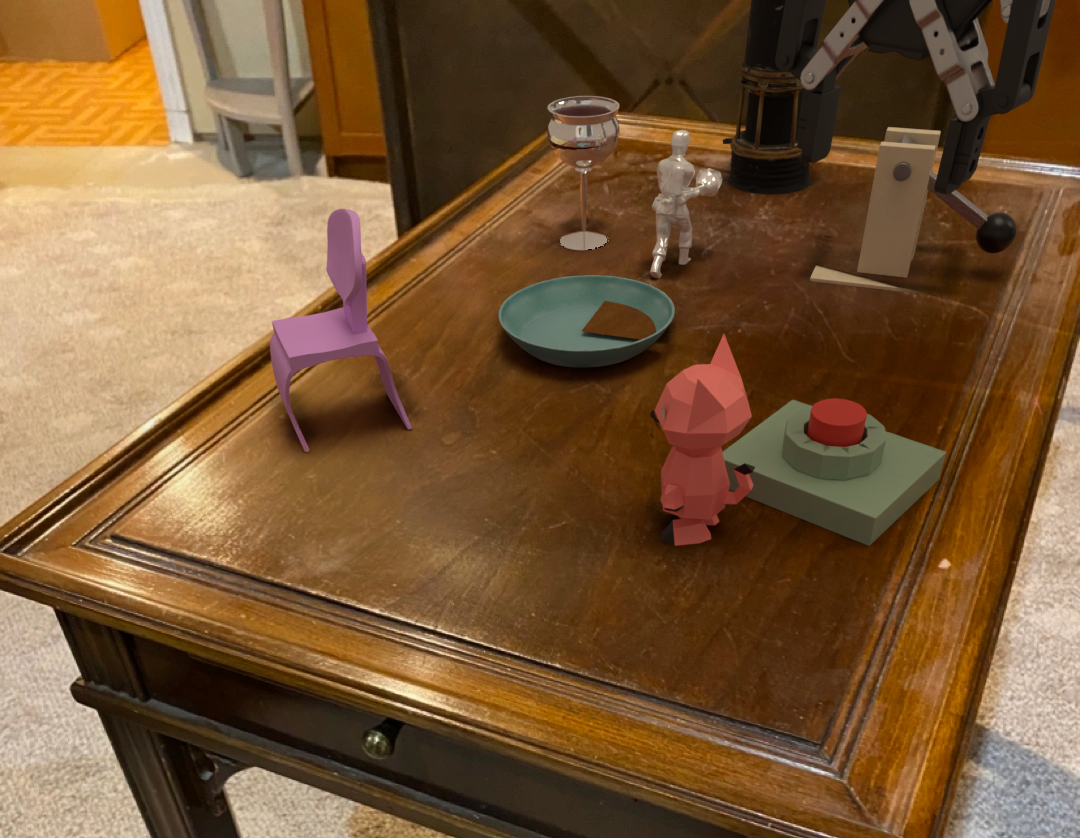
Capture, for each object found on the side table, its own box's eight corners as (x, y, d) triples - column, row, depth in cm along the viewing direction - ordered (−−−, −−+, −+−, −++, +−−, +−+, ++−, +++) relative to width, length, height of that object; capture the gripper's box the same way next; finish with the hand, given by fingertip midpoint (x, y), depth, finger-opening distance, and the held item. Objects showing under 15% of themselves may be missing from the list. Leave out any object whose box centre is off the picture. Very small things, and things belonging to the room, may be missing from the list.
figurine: (633, 287, 97) (638, 145, 88) (670, 251, 102) (678, 114, 94) (682, 295, 95) (692, 151, 87) (717, 258, 101) (729, 119, 92)
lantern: (714, 178, 116) (742, -176, 95) (793, 170, 117) (838, -182, 96) (740, 207, 110) (776, -166, 89) (823, 198, 111) (878, -173, 90)
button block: (939, 479, 73) (953, 427, 70) (869, 547, 67) (881, 493, 65) (788, 426, 78) (796, 375, 76) (713, 484, 73) (718, 432, 70)
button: (871, 432, 70) (877, 409, 69) (845, 455, 69) (849, 431, 67) (824, 416, 72) (828, 392, 71) (796, 437, 70) (800, 414, 69)
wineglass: (596, 258, 102) (597, 121, 93) (537, 246, 104) (532, 111, 96) (629, 234, 106) (633, 101, 97) (571, 223, 108) (570, 92, 100)
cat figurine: (661, 489, 73) (671, 321, 64) (758, 507, 71) (782, 336, 62) (629, 546, 68) (636, 373, 60) (733, 567, 66) (755, 392, 58)
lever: (997, 252, 93) (1025, 222, 91) (994, 266, 91) (1024, 235, 88) (882, 161, 91) (908, 127, 89) (877, 173, 89) (904, 139, 87)
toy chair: (279, 409, 83) (234, 209, 72) (387, 387, 85) (359, 189, 74) (301, 461, 77) (255, 252, 66) (416, 435, 79) (390, 229, 68)
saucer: (633, 292, 96) (634, 262, 94) (701, 362, 86) (704, 330, 84) (479, 319, 93) (477, 289, 91) (531, 395, 83) (530, 363, 81)
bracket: (955, 267, 98) (989, 127, 89) (945, 307, 92) (981, 161, 83) (825, 253, 101) (846, 116, 93) (808, 290, 95) (829, 148, 87)
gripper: (1135, -194, 48) (1024, 184, 59) (858, -207, 55) (806, 135, 66) (1070, -181, 44) (964, 221, 56) (780, -197, 51) (739, 165, 62)
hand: (878, 174), depth 61 cm, fingers open, 8 cm apart
